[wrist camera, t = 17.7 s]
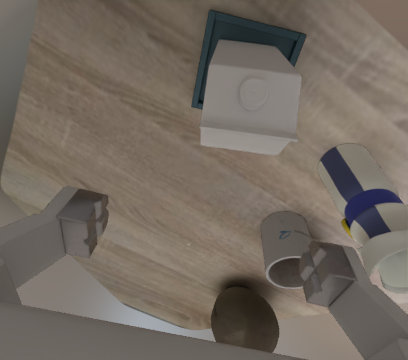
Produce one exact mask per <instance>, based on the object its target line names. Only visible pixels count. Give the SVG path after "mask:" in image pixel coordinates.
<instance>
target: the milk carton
mask: <svg viewBox="0 0 408 360" xmlns="http://www.w3.org/2000/svg"><path fill="white" fill-rule="evenodd" d="M301 80H302V77H301V75H300V74H299V73H298V72H297V70H296V69H295V68H294V67H293V66H292V65H291V64H290V62H289V61H288V60H287V59H286V58H285V57H284V55H283V54H282V53H281V52H280V51H279V50H278V49H277V47H275V46H270V45H262V44H255V43H247V42H239V41H231V40H222V39H220V40H219V41H218V44H217V46H216V49H215V51H214V54H213V57H212V59H211V62H210V65H209V69H208V76H207V83H206V90H205V96H204V103H203V110H202V117H201V123H200V126H199V129H201V145H203V146H209V147H217V148H224V149H231V150H239V151H246V152H253V153H261V154H268V155H278V154H279V153H280V152H281V151H282V150H283V149H284V148H285V146H286V145H287V144H288V143H289V142H290V141H291V142H298V138H297V136H296V126H297V117H298V108H299V99H300V90H301Z"/></svg>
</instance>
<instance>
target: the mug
mask: <svg viewBox="0 0 408 360" xmlns="http://www.w3.org/2000/svg"><path fill="white" fill-rule="evenodd" d="M260 229H261V237H262V246H263V255H264V263H265V272H266V277H267V279H268V280H269V282H271V283H272V284H273V285H275V286H278V287H281V288H285V289H298V288H303V285H304V283H305V281H304V280H303V279H302V277H301V276H300V273H299V261H300V258H301V256H302V254H303V253H304V252H306V251H309V244H310V243H311V241H313V240H314V239H312V238H311V236H310V233H309V230H308V227H307V224H306V221H305V220H304V218H303V217H302V216H300V215H298V214H296V213H293V212H278V213H274V214H272V215H270V216H268V217H267V218H266V219H265V220H264V221H263V222H262V224H261V228H260Z"/></svg>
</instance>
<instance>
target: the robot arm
mask: <svg viewBox="0 0 408 360" xmlns="http://www.w3.org/2000/svg"><path fill="white" fill-rule="evenodd" d="M107 204H108V196H107V195H105V194H101V193H97V192H93V191H89V190H85V189H79V188H75V187H71V186H66V187H64V188H63V189H62V190H61V191H60V192H59V193H58V194H57V195H56V196H55V198H54V199H53V200H52V201H51V202H50V203H49V204H48V205H47V206H46V208H45V209H44V210H43V211H42V212H41V213H40V214H33V215H31V216H28V217H26V218H23V219H21V220H18V221H16V222H14V223H11V224H8V225H6V226H4V227H1V228H0V360H306V359H301V358H296V357H291V356H285V355H280V354H275V353H270V352H265V351H260V350H254V349H249V348H244V347H239V346H234V345H228V344H223V343H218V342H213V341H208V340H202V339H197V338H192V337H187V336H181V335H176V334H171V333H165V332H160V331H155V330H150V329H145V328H140V327H134V326H129V325H124V324H119V323H113V322H108V321H103V320H98V319H93V318H87V317H82V316H77V315H72V314H66V313H62V312H56V311H51V310H46V309H41V308H35V307H30V306H25V305H22V304H21V301H20V298H19V296H18V293H17V291H16V289H17V288H18V287H20V286H21V285H23V284H24V283H26V282H27V281H28V280H30V279H31V278H33V277H34V276H36V275H37V274H39V273H40V272H42V271H43V270H45V269H46V268H48V267H49V266H50V265H52V264H53V263H55V262H56V261H58V260H59V259H61V258H62V257H64V256H65V255H66V254H69V255H75V256H80V257H86V258H90V256H91V254H92V252H93V250H94V249H95V247H96V245H97V237H99V236H101V235H102V234H103V232H104V230H105V228H106V225H107V222H108V216H109V211H108V210H107V209H106V206H107ZM299 273H300V276H301V277H302V279H303V280H304V281H305V283H304V285H303V289H304V293H305V297H306V301H307V303H312V304H316V305H320V306H325V307H329V308H328V309H329V311H330V312H331V314H332V315H333V316H334V318H335V319H336V321H337V322H338V323H339V325H340V326H341V327H342V329H343V330H344V332H345V333H346V334H347V336H348V337H349V339H350V340H351V341H352V343H353V344H354V345H355V347H356V348H357V350H358V351H359V352H360V354H361V355H362V357H363V358H364V360H408V314H406V313H405V312H404V311H403V310H402V309H401V308H400V307H399V306H398V305H397V304H396V303H395V302H394V301H392V300H391V299H390V298H389V297H388V296H387V295H386V294H385V293H384V292H383V291H382V290H381V289H380V288H378V287H377V286H376V285H373V284H372V283H371V281H370V279H369V277H368V275H367V273H366V271H365V269H364V267H363V265H362V263H361V261H360V259H359V257H358V255H357V253H356V251H355V250H354V249H353V248H352V247H348V246H343V245H338V244H333V243H328V242H323V241H319V240H313V241H311V243H310V244H309V251H306V252H304V253H303V254H302V256H301V258H300V261H299Z"/></svg>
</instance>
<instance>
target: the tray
mask: <svg viewBox="0 0 408 360" xmlns="http://www.w3.org/2000/svg"><path fill="white" fill-rule="evenodd" d="M305 38H306V35H305V34H303V33H299V32H295V31H292V30H288V29H284V28H280V27H276V26H272V25H268V24H264V23H261V22H257V21H253V20H249V19H245V18H241V17H237V16H233V15H230V14H226V13H222V12H218V11H214V10H209V14H208V20H207V25H206V30H205V36H204V41H203V47H202V52H201V57H200V63H199V68H198V74H197V79H196V84H195V90H194V95H193V100H192V106H191V107H193V108H198V109H202V110H203V103H204V96H205V90H206V83H207V76H208V69H209V65H210V62H211V59H212V57H213V54H214V51H215V49H216V46H217V44H218V41H219V40H220V39H222V40H231V41H239V42H247V43H255V44H262V45H270V46H275V47H277V49H278V50H279V51H280V52H281V53H282V54H283V55H284V57H285V58H286V59H287V60H288V61H289V62H290V64H291V65H292V66H293V67H294V66H295V64H296V61H297V59H298V56H299V53H300V51H301V48H302V46H303V43H304V41H305Z"/></svg>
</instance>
